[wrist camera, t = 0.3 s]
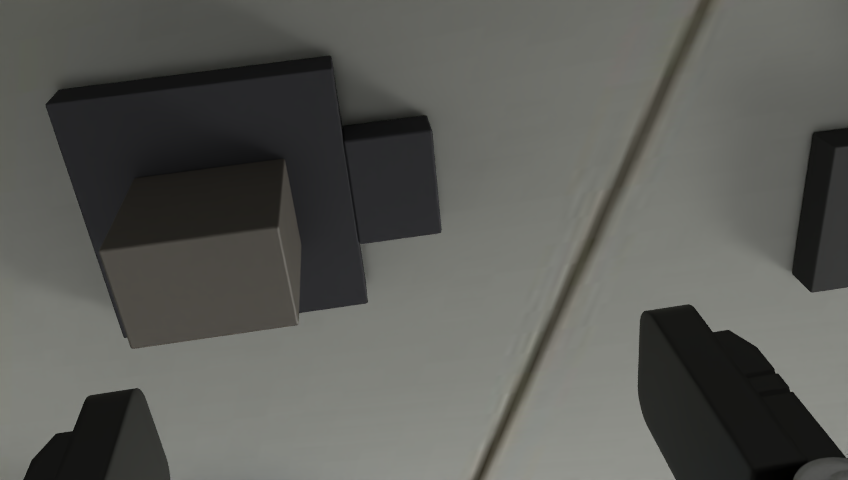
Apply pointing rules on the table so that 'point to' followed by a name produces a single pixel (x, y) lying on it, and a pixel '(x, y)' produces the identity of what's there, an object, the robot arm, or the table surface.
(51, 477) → the robot arm
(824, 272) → the base pad
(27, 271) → the table surface
